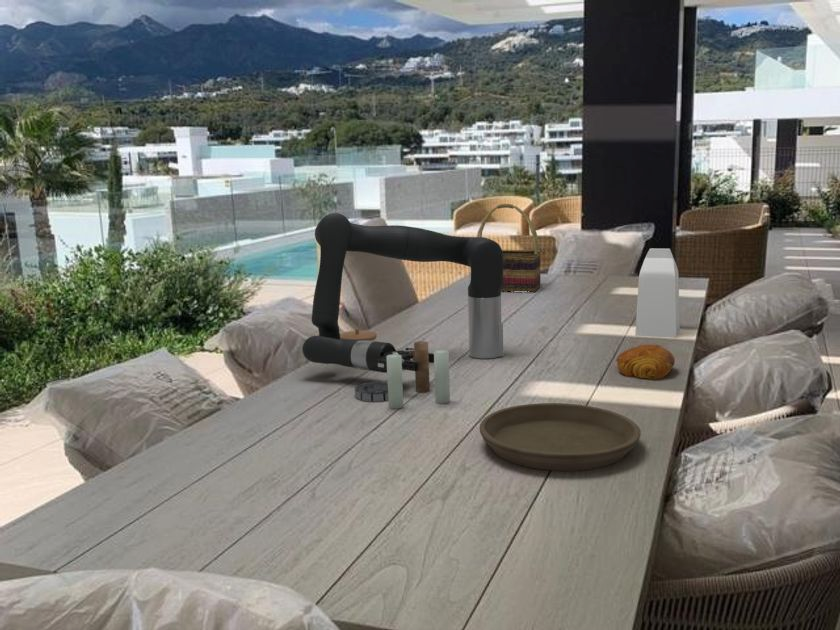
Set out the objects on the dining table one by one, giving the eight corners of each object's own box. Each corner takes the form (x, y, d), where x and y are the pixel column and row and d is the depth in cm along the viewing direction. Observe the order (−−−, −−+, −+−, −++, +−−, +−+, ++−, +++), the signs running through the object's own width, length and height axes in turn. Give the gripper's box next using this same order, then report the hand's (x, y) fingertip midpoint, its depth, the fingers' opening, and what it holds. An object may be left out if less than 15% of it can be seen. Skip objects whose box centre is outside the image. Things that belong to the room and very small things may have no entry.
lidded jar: (372, 366, 230) (370, 333, 229) (334, 365, 233) (332, 332, 231) (381, 357, 241) (380, 324, 239) (345, 356, 243) (344, 324, 241)
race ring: (399, 387, 209) (399, 380, 209) (401, 400, 199) (401, 393, 198) (355, 389, 209) (355, 382, 208) (355, 402, 198) (354, 395, 198)
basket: (471, 291, 343) (469, 205, 336) (480, 285, 357) (478, 202, 350) (535, 293, 335) (535, 204, 328) (542, 287, 348) (541, 202, 342)
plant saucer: (646, 428, 175) (646, 407, 174) (632, 485, 146) (632, 460, 145) (500, 417, 185) (500, 397, 184) (460, 468, 156) (460, 445, 155)
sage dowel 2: (449, 399, 198) (447, 349, 196) (450, 403, 195) (449, 353, 193) (434, 399, 198) (433, 350, 196) (436, 404, 195) (434, 353, 193)
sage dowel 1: (403, 403, 196) (401, 354, 194) (403, 408, 193) (401, 357, 190) (388, 404, 196) (386, 354, 193) (388, 409, 192) (386, 358, 190)
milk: (635, 335, 256) (636, 250, 251) (640, 327, 267) (641, 246, 262) (676, 337, 252) (678, 251, 247) (679, 329, 262) (682, 246, 257)
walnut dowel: (429, 388, 208) (427, 340, 206) (430, 392, 205) (428, 344, 202) (415, 388, 208) (413, 341, 205) (416, 392, 204) (414, 344, 202)
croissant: (677, 375, 220) (680, 345, 219) (668, 382, 206) (670, 350, 205) (622, 369, 226) (624, 339, 226) (609, 376, 212) (611, 344, 211)
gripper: (355, 347, 206) (412, 354, 197) (388, 335, 217) (442, 341, 209) (357, 377, 207) (413, 385, 199) (389, 363, 219) (443, 370, 211)
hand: (428, 362), depth 204 cm, fingers open, 8 cm apart
